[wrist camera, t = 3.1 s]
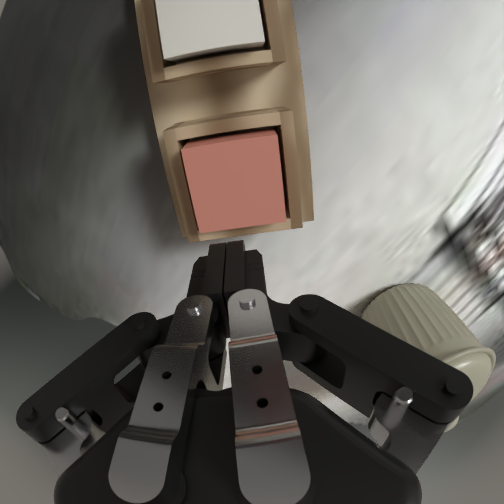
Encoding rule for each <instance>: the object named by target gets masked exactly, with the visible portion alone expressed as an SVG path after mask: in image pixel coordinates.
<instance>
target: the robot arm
mask: <svg viewBox="0 0 504 504" xmlns="http://www.w3.org/2000/svg"><path fill="white" fill-rule="evenodd" d="M226 338H230V339H231V342H229V344H228V345H229V360H230V373H231V385H232V387H231V388H227V389H224V390H223V381H224V373H225V365H226V357H227V351H226ZM136 358H138V360H139V361H140V364H139V365H137V366H136V367H135V368H134V369H133V370H132V371H131V372H129V373H128V374H127V375H126V376H125V377H124V378H122V379H121V380H120V381H119V382H118V383H116V384H114V378H115V376H116V375H117V374H118V373H119V372H120V371H121V370H123V369H124V368H125V367H126V366H127V365H128V364H130V363H131V362H132V361H133V360H134V359H136ZM283 360H287V361H292V362H293V364H294V366H295V367H296V368H297V369H299V370H300V371H302V372H303V373H304V374H306V375H307V376H308V377H310V378H311V379H313V380H314V381H315V382H317V383H318V384H320V385H321V386H323V387H324V388H325V389H327V390H328V391H330V392H331V393H333V394H334V395H335V396H337V397H338V398H340V399H341V400H343V401H344V402H346V403H347V404H349V405H350V406H352V407H353V408H355V409H356V410H358V411H359V412H361V413H362V414H364V415H365V416H367V417H368V418H369V421H368V429H369V432H370V434H371V435H372V437H373V438H375V439H376V440H377V441H378V443H379V444H380V446H381V447H380V446H378V445H377V444H376V443H374V442H373V441H372V440H370V439H369V438H367V437H366V436H365V435H363V434H362V433H360V432H359V431H358V430H356V429H355V428H354V427H352V426H351V425H350V424H348V423H347V422H346V421H344V420H343V419H342V418H340V417H339V416H338V415H337V414H335V413H334V412H333V411H331V410H330V409H329V408H327V407H326V406H325V405H324V404H322V403H321V402H320V401H318V400H317V399H316V398H314V397H312V396H311V395H309V394H307V393H304V392H302V391H299V390H296V389H291V388H289V385H288V381H287V377H286V373H285V368H284V364H283ZM473 391H474V390H473V384H472V382H471V380H470V378H469V377H468V376H467V375H466V374H465V373H463V372H462V371H460V370H458V369H456V368H454V367H452V366H450V365H448V364H446V363H445V362H443V361H441V360H439V359H437V358H435V357H433V356H431V355H429V354H427V353H426V352H424V351H422V350H420V349H418V348H416V347H414V346H412V345H411V344H409V343H407V342H405V341H403V340H401V339H399V338H397V337H395V336H394V335H392V334H390V333H388V332H386V331H384V330H382V329H380V328H379V327H377V326H375V325H373V324H371V323H369V322H367V321H365V320H364V319H362V318H360V317H358V316H356V315H354V314H352V313H351V312H349V311H347V310H345V309H343V308H341V307H339V306H337V305H336V304H334V303H332V302H330V301H328V300H326V299H324V298H323V297H320V296H318V295H312V294H307V295H302V296H299V297H297V298H295V299H294V300H292V302H291V303H290V304H282V303H278V302H275V301H273V300H271V299H270V298H269V297H268V295H267V291H266V282H265V275H264V267H263V260H262V255H261V254H260V253H259V252H258V251H257V250H248V251H245V245H244V241H243V240H240V241H232V242H227V243H226V242H225V243H218V244H211V245H210V246H209V252H208V256H203V257H199V258H198V260H197V261H196V262H195V263H194V265H193V270H192V274H191V279H190V284H189V288H188V293H187V298H185V299H183V300H182V301H181V302H180V303H179V304H178V305H177V307H176V310H175V313H174V314H173V315H171V316H168V317H165V318H162V319H159V320H156V318H155V316H154V315H153V314H151V313H148V312H140V313H136V314H134V315H132V316H130V317H129V318H128V319H126V320H125V321H124V322H123V323H121V324H120V325H119V326H117V327H116V328H115V329H114V330H112V331H111V332H110V333H109V334H107V335H106V336H105V337H104V338H102V339H101V340H100V341H98V342H97V343H96V344H95V345H94V346H92V347H91V348H90V349H88V350H87V351H86V352H85V353H84V354H82V355H81V356H80V357H78V358H77V359H76V360H75V361H73V362H72V363H71V364H70V365H69V366H67V367H66V368H65V369H64V370H62V371H61V372H60V373H59V374H57V375H56V376H55V377H54V378H53V379H52V380H50V381H49V382H48V383H46V384H45V385H44V386H43V387H42V388H40V389H39V390H38V391H37V392H36V393H35V394H33V395H32V396H31V397H30V398H28V399H27V400H26V401H25V402H24V403H23V404H22V405H21V406H20V408H19V409H18V411H17V415H16V421H17V424H18V426H19V428H20V429H22V430H23V431H24V432H25V433H26V434H28V435H29V436H30V437H31V438H33V440H34V441H35V442H36V443H38V444H39V445H40V446H41V447H42V449H43V451H44V453H45V455H46V456H47V458H48V460H49V461H50V463H51V465H52V466H53V468H54V470H55V471H56V473H57V474H58V476H59V479H58V480H57V482H56V486H55V490H54V502H55V504H421V500H422V490H421V485H420V482H419V480H418V477H417V476H416V473H417V472H418V470H419V469H420V468H421V466H422V465H423V463H424V462H425V460H426V459H427V457H428V456H429V454H430V453H431V451H432V450H433V448H434V447H435V445H436V443H437V442H438V441H439V439H440V437H441V436H442V434H443V433H444V432H445V431H446V430H447V429H448V428H449V426H450V425H451V424H452V423H453V422H454V421H455V419H456V418H457V417H458V416H459V415H460V413H461V412H462V411H463V410H464V409H465V407H466V406H467V405H468V403H469V402H470V401H471V399H472V397H473Z"/></svg>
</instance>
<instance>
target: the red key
mask: <svg viewBox="0 0 504 504" xmlns="http://www.w3.org/2000/svg"><path fill="white" fill-rule="evenodd" d="M181 153H182V157H183V162H184V167H185V171H186V176H187V180H188V185H189V189H190V194H191V198H192V203H193V207H194V211H195V215H196V220H197V224H198V228H199V232H200V233H207V232H214V231H221V230H228V229H235V228H243V227H250V226H258V225H265V224H273V223H281V222H286V212H285V202H284V191H283V181H282V172H281V162H280V153H279V144H278V136H277V134H276V132H275V131H274V129H269V130H260V131H252V132H245V133H238V134H231V135H225V136H219V137H213V138H207V139H201V140H196V141H191V142H187V143H186V145H185V146H184V147H183V148H182V149H181Z"/></svg>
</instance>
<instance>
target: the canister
mask: <svg viewBox="0 0 504 504" xmlns="http://www.w3.org/2000/svg"><path fill="white" fill-rule="evenodd" d="M360 318H362V319H364V320H365V321H367V322H369V323H371V324H373V325H375V326H377V327H379V328H380V329H382V330H384V331H386V332H388V333H390V334H392V335H394V336H395V337H397V338H399V339H401V340H403V341H405V342H407V343H409V344H411V345H412V346H414V347H416V348H418V349H420V350H422V351H424V352H426V353H427V354H429V355H431V356H433V357H435V358H437V359H439V360H441V361H443V362H445V363H446V364H448V365H450V366H452V367H454V368H456V369H458V370H460V371H462V372H463V373H465V374H466V375H467V376H468V377H469V378H470V380H471V382H472V384H473V390H474V391H473V397H472V399H471V400H473V399H474V398H475V397H476V395H477V394H478V393H479V392H480V391H481V390H482V388H483V387H484V385H485V384H486V382H487V381H488V379H489V376H490V374H491V372H492V370H493V368H494V365H495V361H496V356H495V353H494V351H493V350H492V349H490V348H488V347H483V345H482V344H481V343H480V342H479V340H478V339H477V338H476V337H475V336H474V334H473V333H472V332H471V331H470V330H469V329H468V327H467V326H466V325H465V324H464V323H463V322H462V320H461V319H460V318H459V317H458V316H457V315H456V314H455V313H454V311H453V310H452V309H451V308H450V307H449V306H448V305H447V304H446V303H445V302H444V301H443V300H442V299H441V298H440V297H439V296H438V295H437V294H436V293H435V292H434V291H432V290H431V289H429V288H428V287H426V286H424V285H421V284H414V283H410V284H408V283H405V284H403V285H401V284H400V285H398V286H394V287H392V288H390V289H387V290H386V291H385V292H382V293H381V294H380V295H379V296H377V297H376V298H375V299H374V300H372V301H371V303H370V304H369V305H368V306H367V308H366V309H365V310H364V312H363V314H362V315H361V317H360ZM458 418H459V416H458V417H457V418H456V419H455V421H454V422H453V423H452V424H451V425H450V426H449V428H448V429H447V430H446V431H445V432H447V431H449V430H450V429H452V428H453V427H454V426H455V425H456V423H457V422H458ZM368 421H369V418H368Z"/></svg>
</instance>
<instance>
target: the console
mask: <svg viewBox="0 0 504 504" xmlns="http://www.w3.org/2000/svg"><path fill="white" fill-rule="evenodd" d="M134 1H135V9H136V17H137V25H138V32H139V39H140V45H141V52H142V58H143V64H144V70H145V75H146V81H147V87H148V92H149V97H150V102H151V108H152V113H153V118H154V122H155V127H156V132H157V137H158V141H159V146H160V150H161V155H162V159H163V163H164V168H165V172H166V176H167V180H168V184H169V188H170V192H171V196H172V200H173V204H174V208H175V212H176V216H177V220H178V223H179V227H180V231H181V235H182V238H186V237H188V241H189V243H190V242H197V241H205V240H212V239H219V238H226V237H234V236H241V235H249V234H256V233H264V232H271V231H279V230H287V229H295V228H303V226H302V222H305V221H313V220H314V213H313V193H312V177H311V162H310V149H309V137H308V126H307V115H306V105H305V96H304V87H303V79H302V71H301V63H300V55H299V48H298V41H297V34H296V28H295V22H294V15H293V9H292V4H291V0H258V2H259V8H260V14H261V20H262V26H263V32H264V39H265V42H264V44H263V46H262V47H256V48H247V49H239V50H232V51H226V52H219V53H213V54H208V55H203V56H197V57H193V58H188V59H183V60H179V61H175V62H172V61H169V60H166V59H164V56H163V50H162V44H161V37H160V31H159V24H158V17H157V10H156V2H155V0H134ZM269 129H274V131H275V132H276V134H277V136H278V144H279V153H280V162H281V172H282V181H283V191H284V202H285V212H286V222H281V223H273V224H265V225H258V226H250V227H243V228H235V229H228V230H221V231H214V232H207V233H200V232H199V228H198V224H197V220H196V215H195V211H194V207H193V203H192V198H191V194H190V189H189V185H188V180H187V176H186V171H185V167H184V162H183V157H182V153H181V149H182V148H183V147H184V146H185V145H186V143H187V142H191V141H196V140H201V139H207V138H213V137H219V136H225V135H231V134H238V133H245V132H252V131H260V130H269Z"/></svg>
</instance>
